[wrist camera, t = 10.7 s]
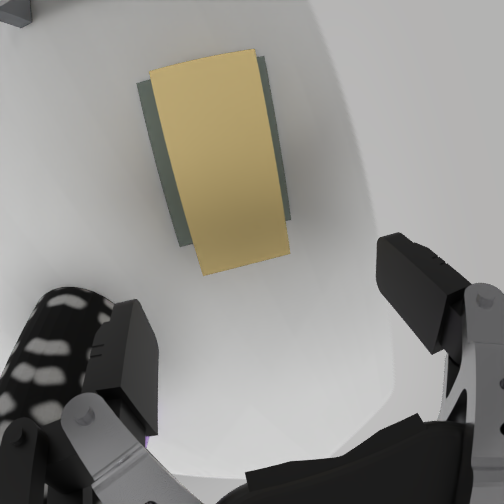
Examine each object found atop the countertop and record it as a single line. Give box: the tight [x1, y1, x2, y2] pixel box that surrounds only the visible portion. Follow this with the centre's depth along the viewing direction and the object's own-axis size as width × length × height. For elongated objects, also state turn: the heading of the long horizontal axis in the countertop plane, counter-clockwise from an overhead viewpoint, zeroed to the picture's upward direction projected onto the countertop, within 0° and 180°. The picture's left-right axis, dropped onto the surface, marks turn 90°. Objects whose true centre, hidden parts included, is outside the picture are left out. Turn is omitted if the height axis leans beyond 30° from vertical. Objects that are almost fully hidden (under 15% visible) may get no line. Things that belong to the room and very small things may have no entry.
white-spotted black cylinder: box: [0, 287, 114, 504], centre depth 13 cm, size 8×8×20 cm
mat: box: [137, 56, 291, 247], centre depth 18 cm, size 10×7×1 cm
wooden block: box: [149, 49, 290, 276], centre depth 16 cm, size 10×4×4 cm, turn 11°
